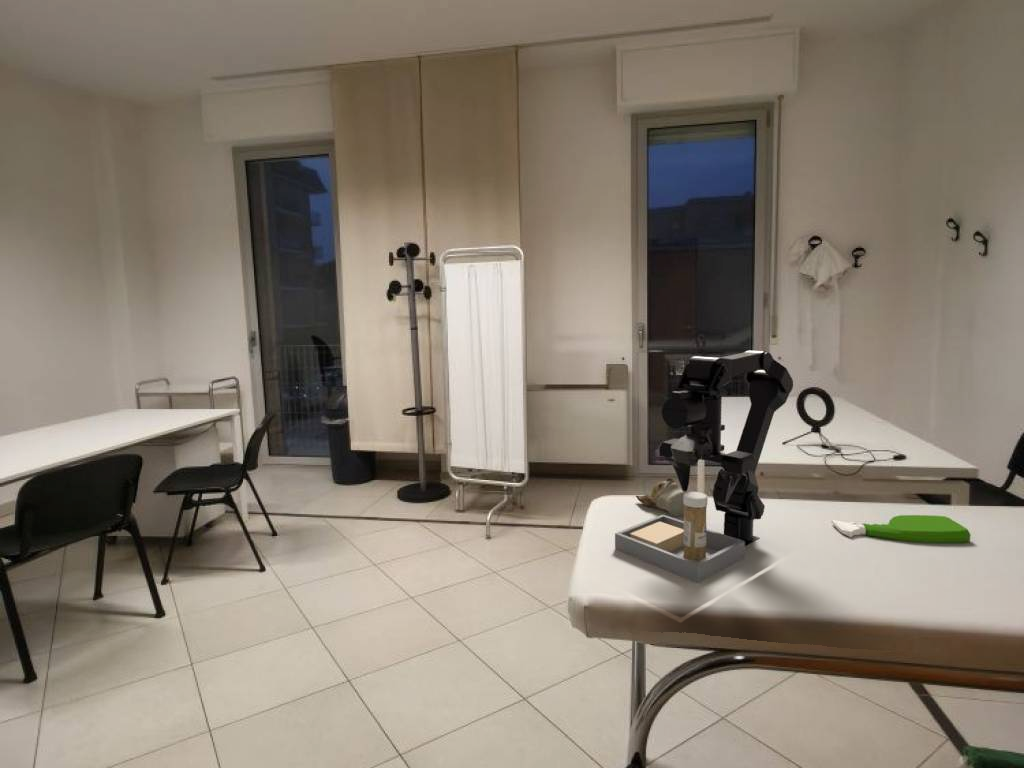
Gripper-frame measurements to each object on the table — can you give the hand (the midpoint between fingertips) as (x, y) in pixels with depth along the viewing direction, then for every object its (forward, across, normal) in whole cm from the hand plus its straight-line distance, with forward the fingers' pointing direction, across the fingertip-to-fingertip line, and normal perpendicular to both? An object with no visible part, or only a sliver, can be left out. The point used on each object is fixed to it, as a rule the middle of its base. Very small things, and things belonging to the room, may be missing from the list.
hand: (704, 496), depth 117 cm
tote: (+13, -4, -3) cm, 14 cm away
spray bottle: (+14, +21, +42) cm, 49 cm away
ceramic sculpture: (+13, -21, +17) cm, 30 cm away
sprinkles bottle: (+13, 0, -3) cm, 13 cm away
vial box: (+12, -9, -3) cm, 16 cm away
